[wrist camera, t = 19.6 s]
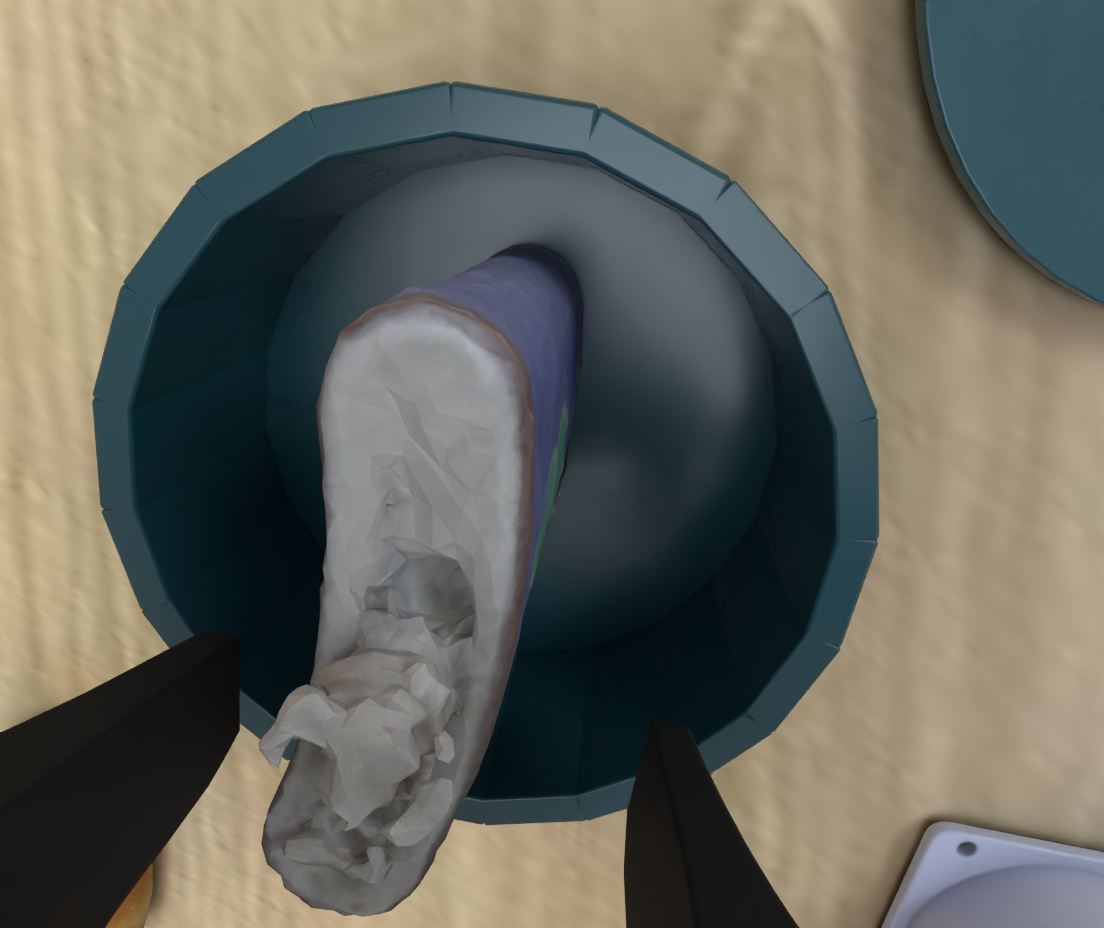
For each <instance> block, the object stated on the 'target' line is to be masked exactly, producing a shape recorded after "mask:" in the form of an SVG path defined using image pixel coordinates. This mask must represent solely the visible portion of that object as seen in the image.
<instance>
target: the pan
mask: <svg viewBox="0 0 1104 928" xmlns="http://www.w3.org/2000/svg"><path fill="white" fill-rule="evenodd" d="M195 183H196V184H195V185H193V186H192V187H191V188H190V190H189V191H188V192H187V194H186V195H185V197H184V198H183V199H182V201H181V202H180V204H179V205H178V206H177V208H176V209H175V211H174V212H173V213H172V215H171V216H170V218H169V219H168V220H167V222H166V223H165V225H164V226H163V227H162V229H161V230H160V232H159V233H158V234H157V236H156V237H155V239H154V240H153V241H152V243H151V244H150V245H149V247H148V248H147V250H146V251H145V252H144V254H143V255H142V257H141V258H140V259H139V261H138V262H137V264H136V265H135V266H134V268H133V269H132V271H131V272H130V273H129V275H128V276H127V278H126V279H125V280H124V284H125V285H123V286H122V287H121V289H120V292H119V296H118V300H117V304H116V307H115V311H114V315H113V319H112V323H111V326H110V330H109V334H108V338H107V342H106V346H105V349H104V353H103V357H102V361H101V365H100V369H99V372H98V376H97V380H96V384H95V388H94V391H93V396H94V397H95V398H94V399H93V402H92V403H93V415H94V428H95V440H96V453H97V465H98V478H99V490H100V503H101V507H102V508H104V509H103V510H102V514H103V516H104V519H105V521H106V524H107V526H108V529H109V531H110V534H111V536H112V539H113V541H114V544H115V546H116V549H117V551H118V554H119V556H120V559H121V561H122V564H123V566H124V569H125V571H126V574H127V576H128V579H129V581H130V584H131V586H132V589H133V591H134V594H135V596H136V598H137V601H138V603H139V606H140V608H141V609H143V611H142V613H143V614H144V616H145V617H146V618H147V620H148V621H149V622H150V624H151V625H152V626H153V627H154V629H155V630H156V631H157V633H158V634H159V635H160V637H161V638H162V639H163V641H164V642H165V643H166V644H167V646H168V647H169V648H172V647H173V646H175V645H177V644H179V643H181V642H183V641H185V640H187V639H189V638H191V637H193V636H195V635H197V634H199V633H201V632H203V631H205V630H209V631H214V632H219V633H224V634H229V635H234V636H239V637H240V724H242V725H243V726H244V727H246V728H247V729H248V730H249V731H251V732H252V733H253V734H254V735H256V736H257V737H258V738H259V739H262V737H263V736H264V735H265V734H266V733H267V732H268V731H269V730H270V728H271V727H272V726H273V725H274V724H275V722H276V719H277V716H278V713H279V711H280V709H281V707H282V705H283V703H284V702H285V700H286V698H287V696H288V695H289V694H290V693H292V692H293V691H294V690H295V689H297V688H298V687H301V686H304V685H309V686H310V680H311V677H312V673H313V669H314V665H315V653H316V646H317V639H318V630H319V620H320V587H321V585H322V582H323V580H324V573H323V563H324V557H325V550H326V544H327V532H326V513H325V501H324V495H323V489H322V478H323V466H322V459H321V452H320V442H319V432H318V420H317V407H316V404H317V401H318V398H319V395H320V392H321V387H322V383H323V378H324V374H325V369H326V365H327V363H328V360H329V358H330V356H331V354H332V352H333V349H334V347H335V344H336V342H337V339H338V336H339V334H340V331H341V330H343V329H344V328H345V327H347V326H348V325H350V324H351V323H352V322H354V321H355V320H356V319H358V318H359V317H360V316H361V315H363V314H364V313H365V312H366V311H367V310H369V309H371V308H373V307H375V306H377V305H379V304H381V303H384V302H386V301H388V300H389V299H391V298H392V297H394V296H395V295H397V294H398V293H400V292H401V291H403V290H404V289H406V288H407V287H410V286H420V285H434V284H437V283H440V282H443V281H445V280H447V279H449V278H450V277H452V276H454V275H457V274H460V273H463V272H464V271H466V270H468V269H470V268H471V267H473V266H475V265H477V264H479V263H481V262H482V261H485V260H487V259H488V258H489V257H491V256H493V255H494V254H496V253H497V252H499V251H501V250H504V249H506V248H508V247H510V246H512V245H536V246H538V247H541V248H544V249H547V250H549V251H552V252H553V253H555V254H557V255H558V256H560V257H562V258H563V260H564V261H565V262H566V263H567V264H568V265H569V267H570V269H571V270H572V272H573V274H574V276H575V278H576V280H577V283H578V285H579V289H580V292H581V295H582V299H583V306H584V316H583V317H584V318H583V327H584V328H585V329H584V330H583V343H582V344H583V353H582V364H581V368H580V370H581V374H580V375H579V376H578V377H579V380H578V388H577V400H576V409H575V412H574V418H573V423H572V429H571V436H570V439H569V443H568V450H567V459H566V460H567V468H566V469H565V470H566V472H565V475H564V477H563V479H562V481H561V485H560V488H559V492H560V495H559V497H558V500H557V502H556V503H555V510H554V512H553V513H552V515H551V517H550V519H549V523H548V526H549V527H548V530H547V532H546V535H545V538H544V540H543V543H542V546H541V550H540V553H539V558H538V562H537V567H536V572H535V576H534V580H533V584H532V587H531V590H530V593H529V596H528V600H527V603H526V607H525V611H524V614H523V619H522V625H521V630H520V636H519V640H518V644H517V648H516V652H515V655H514V659H513V663H512V667H511V670H510V674H509V678H508V681H507V685H506V689H505V692H504V696H503V699H502V703H501V706H500V710H499V713H498V716H497V720H496V723H495V726H494V730H493V733H492V736H491V739H490V741H489V744H488V747H487V750H486V752H485V755H484V757H483V760H482V762H481V765H480V770H479V772H478V774H477V776H476V778H475V780H474V782H473V784H472V786H471V787H470V789H469V791H468V793H467V795H466V796H465V798H464V800H463V802H462V804H461V805H460V807H459V809H458V811H457V813H456V816H455V818H454V819H457V820H462V821H467V822H471V823H476V824H483V823H484V824H485V825H501V824H524V823H548V822H571V821H585V820H591V819H595V818H598V817H601V816H604V815H608V814H611V813H614V812H617V811H621V810H624V809H627V808H628V806H629V802H630V798H631V794H632V790H633V786H634V783H635V779H636V775H637V771H638V767H639V763H640V760H641V756H642V752H643V748H644V744H645V740H646V737H647V733H648V729H649V725H650V721H651V719H654V720H659V721H664V722H669V723H674V724H679V725H684V726H687V727H688V728H689V730H690V731H691V733H692V735H693V738H694V740H695V742H696V744H697V747H698V749H699V751H700V754H701V756H702V758H703V760H704V762H705V765H706V767H707V769H708V771H709V773H710V774H711V773H713V772H714V771H716V770H717V769H719V768H720V767H722V766H723V765H725V764H726V763H728V762H729V761H731V760H733V759H734V758H736V757H737V756H739V755H740V754H742V753H743V752H745V751H746V750H748V749H749V748H751V747H752V746H754V745H755V744H757V743H758V742H760V741H761V740H763V739H764V738H766V737H768V736H769V735H771V733H772V732H774V731H775V730H776V729H777V727H778V726H779V725H780V724H781V722H782V721H783V720H784V719H785V717H786V716H787V715H788V714H789V713H790V711H791V710H792V709H793V708H794V706H795V705H796V704H797V703H798V701H799V700H800V699H801V698H802V696H803V695H804V694H805V693H806V691H807V690H808V689H809V688H810V687H811V685H812V684H813V683H814V682H815V680H816V679H817V678H818V677H819V675H820V674H821V673H822V672H823V670H824V669H825V668H826V667H827V666H828V664H829V663H830V662H831V661H832V659H833V658H834V657H835V656H836V654H837V653H838V652H839V651H840V647H839V646H841V644H842V642H843V639H844V636H845V634H846V631H847V628H848V625H849V622H850V620H851V617H852V614H853V611H854V608H855V606H856V603H857V600H858V597H859V594H860V592H861V589H862V586H863V583H864V580H865V578H866V575H867V572H868V569H869V566H870V564H871V561H872V558H873V555H874V552H875V550H876V547H877V544H878V543H877V539H878V537H879V469H878V419H877V417H876V416H877V411H876V408H875V405H874V403H873V400H872V398H871V395H870V392H869V390H868V387H867V385H866V382H865V379H864V377H863V374H862V372H861V369H860V366H859V364H858V361H857V358H856V356H855V353H854V351H853V348H852V345H851V343H850V340H849V338H848V335H847V332H846V330H845V327H844V325H843V322H842V319H841V317H840V314H839V312H838V309H837V306H836V304H835V301H834V299H833V296H832V293H831V292H830V291H828V286H827V285H826V284H825V283H824V282H823V280H822V279H821V278H820V277H819V276H818V275H817V274H816V272H815V271H814V270H813V269H812V268H811V267H810V266H809V264H808V263H807V262H806V261H805V260H804V259H803V258H802V256H801V255H800V254H799V253H798V252H797V251H796V250H795V248H794V247H793V246H792V245H791V244H790V243H789V242H788V240H787V239H786V238H785V237H784V236H783V235H782V234H781V232H780V231H779V230H778V229H777V228H776V227H775V226H774V224H773V223H772V222H771V221H770V220H769V219H768V217H767V216H766V215H765V214H764V213H763V212H762V211H761V209H760V208H759V207H758V206H757V205H756V204H755V203H754V201H753V200H752V199H751V198H750V197H749V196H748V195H747V193H746V192H745V191H744V190H743V189H742V188H741V187H740V185H739V184H738V183H737V182H736V181H731V179H730V178H729V176H728V175H726V174H724V173H722V172H720V171H719V170H717V169H715V168H713V167H711V166H710V165H708V164H706V163H704V162H702V161H701V160H699V159H697V158H695V157H693V156H692V155H690V154H688V153H686V152H684V151H683V150H681V149H679V148H677V147H675V146H674V145H672V144H670V143H668V142H666V141H665V140H663V139H661V138H659V137H657V136H656V135H654V134H652V133H650V132H648V131H647V130H645V129H643V128H641V127H639V126H638V125H636V124H634V123H632V122H630V121H629V120H627V119H625V118H623V117H621V116H620V115H618V114H616V113H614V112H612V111H611V110H609V109H607V108H602V107H601V108H600V109H599V108H598V106H597V105H595V104H593V103H587V102H581V101H575V100H568V99H562V98H556V97H550V96H544V95H537V94H531V93H525V92H519V91H513V90H506V89H500V88H494V87H488V86H481V85H475V84H469V83H463V82H457V81H456V82H453V83H451V84H450V83H449V82H445V81H444V82H439V83H434V84H429V85H424V86H420V87H415V88H410V89H405V90H400V91H395V92H390V93H385V94H380V95H375V96H370V97H365V98H360V99H355V100H350V101H345V102H340V103H335V104H330V105H325V106H320V107H315V108H312V109H311V110H310V111H303V112H302V113H300V114H299V115H297V116H296V117H294V118H293V119H291V120H289V121H288V122H286V123H285V124H283V125H282V126H280V127H279V128H277V129H275V130H274V131H272V132H271V133H269V134H268V135H266V136H265V137H263V138H261V139H260V140H258V141H257V142H255V143H254V144H252V145H251V146H249V147H247V148H246V149H244V150H243V151H241V152H240V153H238V154H237V155H235V156H233V157H232V158H230V159H229V160H227V161H226V162H224V163H223V164H221V165H219V166H218V167H216V168H215V169H213V170H212V171H210V172H209V173H207V174H205V175H204V176H202V177H201V178H199V179H198V180H197V181H196V182H195ZM297 740H298V739H293V738H292V739H291V740H290V742H289V744H288V745H287V747H286V749H285V750H284V752H283V755H282V757H283V758H285V759H286V760H291V758H292V755H293V752H294V749H295V746H296V743H297Z"/></svg>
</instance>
